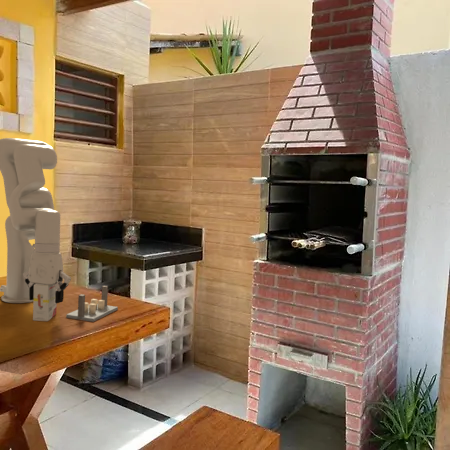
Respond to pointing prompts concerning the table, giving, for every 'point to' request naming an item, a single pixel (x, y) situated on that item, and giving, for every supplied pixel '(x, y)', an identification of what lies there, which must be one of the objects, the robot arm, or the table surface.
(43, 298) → the ink box
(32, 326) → the table surface
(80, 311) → the peg stand
